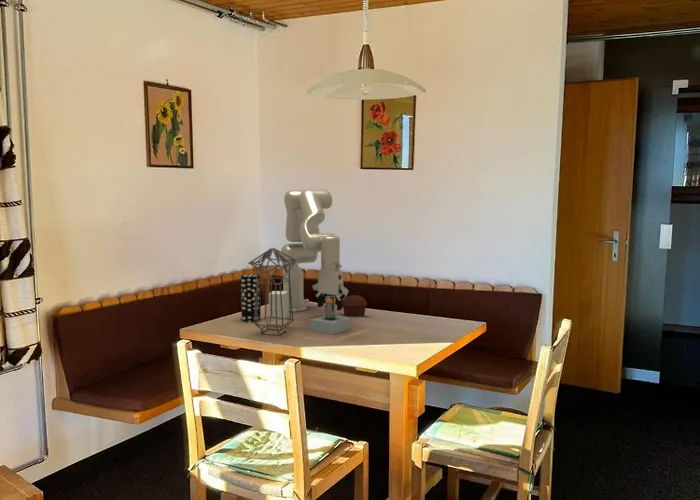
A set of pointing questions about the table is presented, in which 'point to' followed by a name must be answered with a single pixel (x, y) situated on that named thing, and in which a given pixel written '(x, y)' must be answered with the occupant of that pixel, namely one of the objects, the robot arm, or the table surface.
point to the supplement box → (278, 305)
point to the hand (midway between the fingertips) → (330, 308)
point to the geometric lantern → (282, 259)
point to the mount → (316, 317)
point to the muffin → (354, 306)
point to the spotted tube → (249, 297)
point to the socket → (330, 325)
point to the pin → (330, 308)
